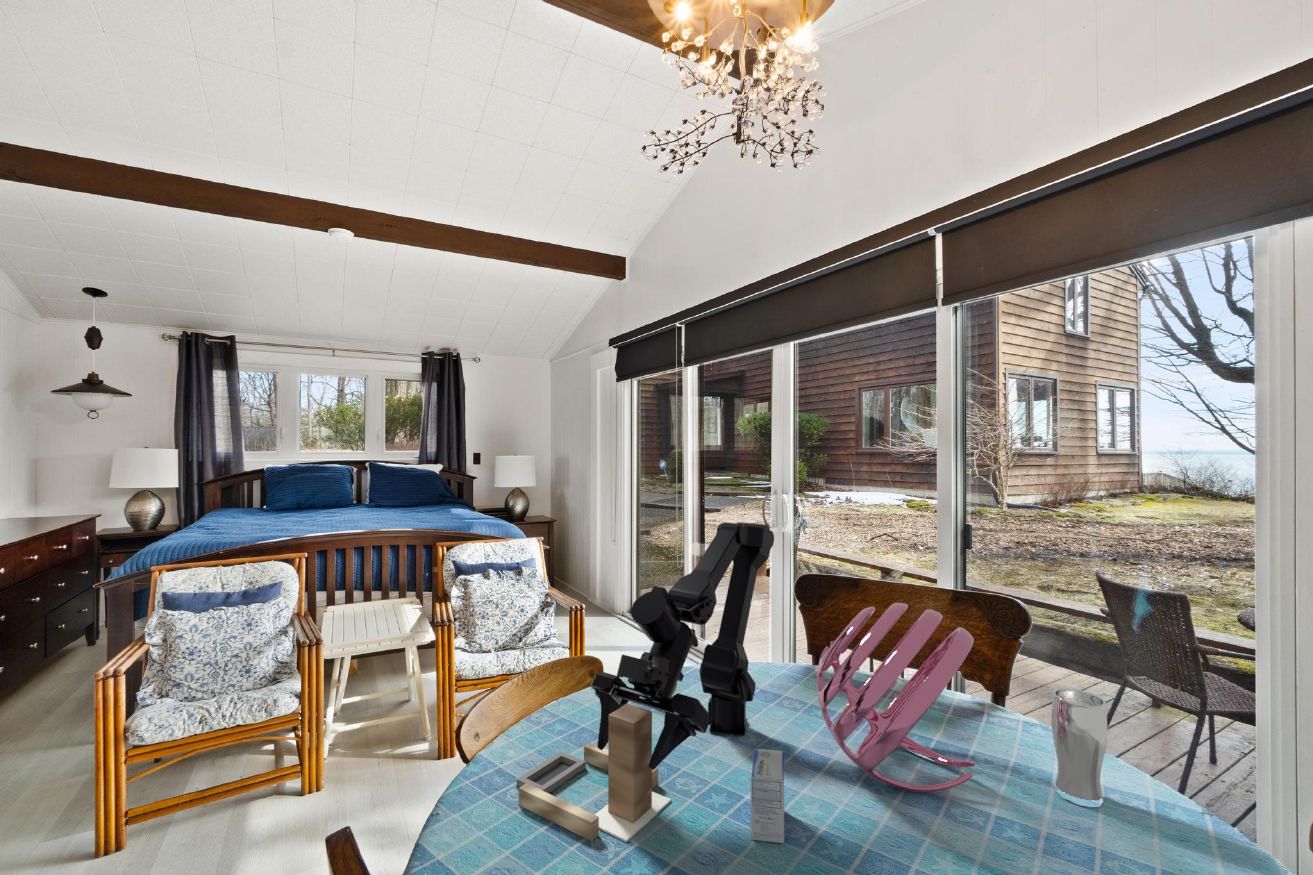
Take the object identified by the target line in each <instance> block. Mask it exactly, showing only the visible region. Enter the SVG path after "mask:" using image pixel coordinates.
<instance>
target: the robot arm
mask: <svg viewBox="0 0 1313 875" xmlns="http://www.w3.org/2000/svg"><path fill="white" fill-rule="evenodd" d="M774 541H775V534H774V532H773V530H771V529H770V527H769V526H768V525H767V524H762V523H750V522H742V521H741V522H740V521H738V522H722V523H720V524H718V527H717V528H716V534H715V536H714V538H712V540H711V541H710V543H709V545H708V546H707V548H706V550H705V551H704V553H703V555H702V556H701V557H700V559H699V560H698V563H697V564H696V566H694V568H693V570H692V571H691V573H687V574H686V575H684V576H682V577H680V578H679V579H678V580H677V581H676V582H675V583H674V585H673V586H672V587H671V588H670V589H669V590H667V589H666V587H662V586H658V585H654V586H653V587H652V589H651V591H649V592H646V593H644V594H642V595H641V596H639V597H638V598H637V599H636V600H635V601H634V602H633V604H632V605H631V609H630V614H631V617H632V619H633V621H634V622H635V624H637V626H638V628H640V630H641V631H642V632H643V634H644V635H645V636H646V637H647V639H648V640H650V641H651V642H652V643H653V644H652V645H651V648H650V650H649V652H647V651H644V652H642V654H641V656H640V658H638V657H634V656H630V655H626V654H621V656H620V660H619V661H620V662H619V663H618V664H619V665H618V670H617V672H616V675H615V674H612V673H608V672H605V671H600V672H598V673H596V675H595V676H594V678H593V679H592V681H591V684H590V685H589V686H590V687H591V689H593V690H594V695H595V696H596V697H597V698H598V699H599V701H600V702H599V704H600V722H599V728H598V729H599V730H598V735H597V736H598V737H597V744H596V745H597V747H598V748H599V749H600V750H603V749H604V748H606V746H607V744H608V734H609V714H611V713H612V712H614V711H616V710H617V709H619V708H621V707H622V706H624V705H626V704H627V703H628V704H629V702H631V703H634V704H638V705H641V706H644V707H647V708H651V709H653V710H657V711H660V712H663V713H664V723H663V727H662V730H661V732H660V735H659V736H658V740H657V742H656V744H655V747H654V750H652V756H651V760H650V763H649V768H650V769H652V770H654V769H655V768H658V767H659V765H660V764H661V763H662V762H663V761H664V760H665V759H666V758H667V757H668V756H669V755H670V754H671V753H672V752H673V751H674V750H675V749H676V748H677V747H679V746H680V745H681V744H682V743H683V742H685V741H686V740H687V739H689V738H690V737H694V738H695V737H696V735H697V732H698V733H701V734H705V733H707V730H708V727H709V733H711V734H718V735H726V736H727V735H728V736H738V737H746V732H747V724H748V719H747V702H752V701H754V696H755V693H756V682H755V680H754V679H753V677H752V676H751V674H750V672H748V670H749V659H748V656H747V652H746V649H745V646H744V641H745V636H746V633H747V632H746V631H747V625H748V620H749V616H750V612H751V611H750V610H751V606H752V601H753V596H754V591H755V585H756V580H757V574H758V570H759V569H760V568H762V566H763V565H764V564H765V562H767V561H768V559H769V558H770V557H769V556H770V552H771V549H772V547H774V543H775V542H774ZM731 564H732V570H731V574H730V578H729V583H728V588H727V592H726V597H725V602H724V605H723V606H724V607H723V611H722V616H721V622H720V624H719V626H720V627H719V630H718V635H717V637H716V639H715V640H714V641H713V642H712V644H706V646H705V648H704V652H703V657H702V660H701V663H700V667H699V678H700V683H701V688H702V692H703V693H704V694H709V695H711V696H710V697H709V700H708V703H707V709H706V708H705V706H704V705H703V704H702V702H701V701H700V700H699V699H698V698H695V697H692V696H689V695H685V694H682V693H676V694H673V695H672V693H673V690H674V688H675V685H676V683H677V684H678V682H683V679H684V677H685V675H684V674H683V672H682V670H683V668H684V665H685V662H686V660H687V657H688V655H689V653H690V650H691V647H694V648H697V647H698V646H699V640H698V638H697V635H696V630H695V629H694V628H690V627H689V625H688V624H694V625H699V626H702V625H704V626H705V625H706V624H707V623H708V622H709V621H710V619H711V617H713V614H714V612H715V607H716V605H717V603H718V602H717V596H716V590H717V589H718V587H719V584H720V583H721V581H722V579H723V577H724V576H725V574H726V572H727V571H728V568H729V567H730V565H731ZM687 623H688V624H687ZM622 678H627V682H628V683H629V685H633V687H631V686H628V685H627V684H626V682H624V681H623V679H622ZM671 695H672V696H671Z"/></svg>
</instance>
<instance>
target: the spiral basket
mask: <svg viewBox="0 0 1313 875" xmlns="http://www.w3.org/2000/svg"><path fill="white" fill-rule="evenodd" d="M908 607H909V605H908V604H907V603H904V602H903V603H902V602H894V603H892V604H891V605H890V606H889V607H888V608H886V610H885V612H884V613H883V614H882V615H881V616H880V617H879V618H878V620H877V621H876V622H875V623H874V625H872V626H871V628H870V629H869V630H868V631H867V632H866V634H865V635H864V636H863V637H862V639H861V640H859V642H858V643H857V644H856V646H855V647H854V648H853V650H851V652H850V654H849V655H848V656H847V657H846V658H845V659H844V661H842V663H840V657H841V654H842V653H843V652H844V651H845V650H846V648H848V646H849V645H850V643H851V642H852V641H853V640H854V639H855V638H856V637H857V635H858V634H859V632H860V631H861V630H862V628H863V627H864V626H865V624H866V623H867V622H868V621H869V619H870V618H871V617H872V615H873V614H874V612H875V611H876V608H875V606H869V607H866V608H864V609H862V610H860V612H858V613H857V615H856V616H855V617H853V618H852V620H851V621H850V622H849V624H847V625H846V626H845V628H844V629H843V630H842V631H841V633H839V635H838V637H837V638H836V639H835V640H832V641H830V646H828V645H826V646H825V647H824V648H823V649H822V650H823V651H822V653H821V654H820V658H819V661H818V667H817V673H816V690H817V699H818V704H819V707H820V711H821V714H822V718H823V720H824V722H825V725H826V727H827V729H828V731H829V733H830V735H831V736H832V738H833V739H834V741H835V743H836V744H837V746H838V747H839V748H840V749H841V750H842V751H843V753H844V754H845V755H846V756H847V758H849V759H850V760H851V761H852V762H853V764H855V766H857V767H858V768H860V769H861V770H862V771H864V772H865V773H866V774H868V775H870V776H871V777H873V778H874V779H876V780H878V781H880V782H882V783H884V784H886V785H888V786H891V787H894V788H897V789H900V790H904V791H910V792H915V793H916V792H917V793H933V792H934V793H935V792H941V791H946V790H949V789H952V788H955V787H958V786H960V785H963V784H964V783H966V782H967V781H969V780H970V779H971V778H972V777H973V775H974V774H973V772H972V771H967V772H966V773H964V774H962V775H960V776H958V777H956V778H953V779H951V780H948V781H946V782H945V781H944V782H941V783H936V784H926V785H925V784H912V783H908V782H907V783H906V782H903V781H902V782H901V781H900V780H899V781H898V780H896V779H894V778H891V777H888V776H885V775H883V774H881V773H879V772H878V771H876V770H875V768H877V767H878V766H879V765H880V764H881V763H882V762H883V761H884V760H885V759H887V757H888V756H889V755H890V754H891V753H892V752H893V751H894V750H895V749H896V748H897V747H900V748H902V749H903V748H904V749H903V750H905V749H907V750H910V751H912V752H914V753H917V754H921V755H923V756H926V757H928V758H930V759H932V760H934V761H935V762H938V763H941V764H943V765H942V766H945V765H946V767H950V768H951V767H953V768H972V767H975V766H976V764H975V762H974V761H970V760H960V759H955V758H951V757H948V756H945V755H942V754H939V753H937V752H936V751H933V750H931V749H929V748H928V747H925V746H923V745H921V744H920V743H918V742H916V741H915V740H913V739H911V738H910V737H909V736H908V735H909V733H910V732H911V731H912V730H913V729H914V727H915V726H916V725H917V724H918V723H919V721H920V720H922V718H923V716H925V714H926V713H927V712H928V710H929V709H930V708H931V707H932V705H933V704H934V702H936V700H937V699H938V698H939V696H940V695H941V694H942V692H943V691H944V690H945V688H946V687H947V686H948V684H949V683H950V681H952V678H953V677H954V676H955V675H956V674H957V672H958V670H959V669H960V667H961V666H962V664H963V663H964V661H965V660H966V658H967V656H968V654H969V653H970V651H971V649H972V647H973V644H974V641H975V639H974V637H973V636H972V634H971V633H970V632H969V631H968V630H966V629H965V628H964V627H960V626H959V627H957V628H955V630H953V631H952V632H951V633H950V634H949V635H948V636H947V637H946V638H945V639H944V640H943V641H942V642H941V643H940V644H939V645H938V646H937V648H936V649H935V650H934V651H932V653H931V654H930V656H929V657H928V658H927V659H926V660H925V661H924V662H923V663H922V665H921V666H920V667H919V668H918V670H916V672H915V673H914V674H913V675H912V677H911V678H910V679H909V681H907V682H906V684H905V685H904V687H903V688H902V689H901V690H900V691H899V693H898V694H897V695H896V696H895V697H894V698H893V700H892V701H891V703H890V704H889V706H888V707H887V708H886V709H885V710H884V711H882V712H878V711H877V710H876V709H874V708H875V707H876V706H877V704H878V703H879V702H880V701H881V699H882V698H883V697H884V696H885V694H886V693H887V692H888V691H889V690H890V688H891V687H892V686H893V684H894V683H895V682H896V681H897V680H898V678H899V677H900V676H901V675H902V673H903V672H904V671H905V669H907V667H908V665H910V663H911V662H912V661H913V660H914V659H915V657H916V655H917V654H918V653H919V652H920V650H921V649H922V647H924V645H925V643H926V642H927V641H928V640H929V638H930V637H931V636H932V634H933V633H934V631H935V630H936V629H937V628H938V626H939V624H940V623H941V621H942V619H943V618H944V617H943V614H941V613H940V612H938V611H936V610H935V609H934V610H933V609H926V610H924V612H923V613H922V614H921V615H920V616H919V618H917V620H916V621H915V622H914V623H913V625H912V626H911V627H910V628H909V629H908V631H906V633H905V634H903V637H902V638H901V639H900V640H899V641H898V642H897V644H896V645H895V646H894V647H893V649H892V650H891V651H890V652H889V653H888V655H887V656H886V657H885V659H884V660H883V661H882V662H881V663H880V665H878V666H877V668H876V669H875V671H874V672H873V674H872V675H870V677H869V678H868V679H867V680H866V682H865V683H864V685H863V686H862V687H861V688H856V687H855V686H854V684H853V680H852V679H853V676H854V675H855V673H856V672H857V671H858V670H859V669H860V667H861V666H862V665H863V664H864V663H865V661H866V660H867V659H868V658H869V656H870V655H871V654H872V653H873V651H874V650H875V649H876V647H877V646H878V645H879V644H880V643H881V641H883V639H884V638H885V636H886V635H887V634H888V633H889V631H890V630H891V629H892V628H893V626H894V625H895V624H896V623H897V622H898V620H899V619H900V618H901V616H902V615H903V614H904V613H905V611H907V609H908ZM831 666H832V669H833V675H832V676H831V677H830V679H829V680H828V681H827V682H826V684H825V685H824V684H823V683H824V682H823V680H824V674H825V673H826V672H827V671H828V670H829V668H830V667H831ZM823 685H824V686H823ZM840 692H842V693H844V694H845V696H846V698H847V705H846V707H845V709H844V710H843V711H842V712H841V714H840V715H839V716H838V718H837V719H836V720H835V721H834V723H833V722H832V720H831V717H830V715H829V712H828V706H829V705H830V704H831V703H832V702H833V700H834V699H835V698H836V697H837V695H838V694H839V693H840ZM864 720H865V721H866V722H867V723H868V724H869V727H870V730H869V732H868V733H867V735H866V736H865V737H864V739H863V741H862V742H861V744H860V745H859V747H858V749H857V750H856V752H855V753H854V752H852V750H850V748H849V747H848V746H847V745H846V743H845V741H846V740H847V739H848V737H849V736H850V735H851V734H852V733H853V732H854V731H855V730H856V729H857V728H858V726H860V724H861V723H862V722H863V721H864ZM907 750H906V751H907ZM941 764H940V765H941Z"/></svg>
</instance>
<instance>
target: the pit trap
mask: <svg viewBox="0 0 1313 875" xmlns="http://www.w3.org/2000/svg"><path fill="white" fill-rule="evenodd" d="M586 769H587V762H586V761H584V759H582V758H579V757H577V756H574V755H571V754H569V753H566V752H564V751H559V752H558V753H556V754H554V755H553V756H551V757H550V758H548V759H547V760H545V761H543V762H542V763H540V764H539V765H537V766H535V767H534V768H532V769H530V770H529V771H527V772H526V773H524V774H522V775H521V776H519V777H517V778H516V788H517V789H519V788H520V787H521V786H523V785H525V784H526V783H527V784H529V785H531V786H533V787H536V788H538V789H540V790H542V791H544V792H546V793H549V794H551V793H553V792H554V791H556V790H557V789H559V788H560V787H562V786H563V785H565V784H566V783H567V782H569V781H571V779H573V778H574V777H576V776H577V775H579V774H581V773H582V772H583V771H585V770H586Z"/></svg>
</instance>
